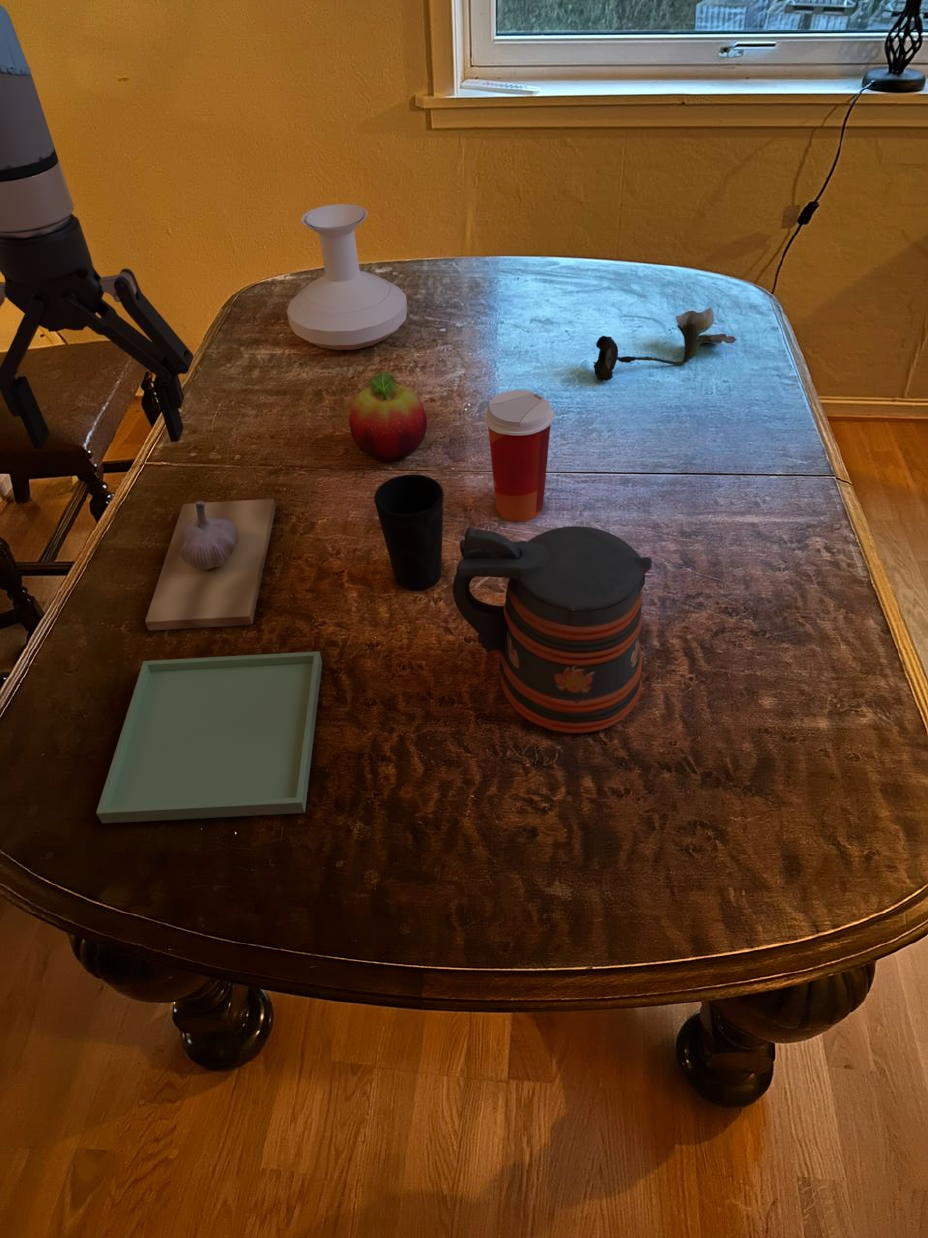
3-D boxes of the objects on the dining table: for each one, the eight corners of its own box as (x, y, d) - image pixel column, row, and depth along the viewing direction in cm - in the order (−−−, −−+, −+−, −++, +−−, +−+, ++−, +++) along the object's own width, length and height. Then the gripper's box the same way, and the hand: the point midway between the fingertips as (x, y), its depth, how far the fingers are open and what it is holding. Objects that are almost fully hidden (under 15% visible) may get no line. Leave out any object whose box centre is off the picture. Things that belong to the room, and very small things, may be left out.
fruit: (351, 473, 121) (341, 410, 114) (355, 430, 129) (346, 368, 122) (429, 469, 121) (423, 405, 114) (429, 426, 129) (423, 363, 122)
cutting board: (148, 631, 101) (144, 621, 100) (185, 512, 117) (182, 503, 116) (252, 625, 101) (249, 615, 100) (276, 507, 117) (273, 498, 116)
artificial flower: (584, 372, 140) (588, 306, 135) (713, 364, 145) (721, 300, 140) (605, 385, 132) (610, 315, 128) (741, 376, 137) (750, 309, 133)
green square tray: (102, 823, 83) (95, 813, 82) (148, 671, 97) (143, 660, 96) (305, 813, 83) (301, 802, 82) (322, 662, 97) (319, 651, 95)
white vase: (290, 314, 157) (267, 200, 143) (401, 299, 159) (389, 186, 145) (295, 368, 143) (271, 249, 129) (417, 352, 145) (406, 232, 131)
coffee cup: (521, 480, 118) (521, 379, 108) (564, 508, 114) (568, 405, 103) (473, 506, 115) (468, 405, 104) (516, 536, 110) (515, 433, 100)
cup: (378, 592, 104) (364, 511, 96) (396, 550, 109) (385, 470, 101) (441, 600, 103) (433, 519, 94) (457, 558, 108) (450, 477, 99)
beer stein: (457, 739, 88) (444, 593, 74) (460, 633, 99) (449, 488, 85) (649, 736, 87) (672, 587, 73) (632, 630, 98) (649, 482, 84)
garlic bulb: (229, 528, 112) (213, 476, 106) (255, 557, 107) (240, 505, 102) (173, 553, 109) (154, 501, 103) (198, 584, 104) (179, 531, 99)
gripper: (187, 197, 77) (239, 412, 92) (-100, 212, 77) (-2, 424, 92) (170, 230, 72) (228, 452, 86) (-138, 246, 71) (-28, 465, 86)
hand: (110, 438), depth 89 cm, fingers open, 13 cm apart
